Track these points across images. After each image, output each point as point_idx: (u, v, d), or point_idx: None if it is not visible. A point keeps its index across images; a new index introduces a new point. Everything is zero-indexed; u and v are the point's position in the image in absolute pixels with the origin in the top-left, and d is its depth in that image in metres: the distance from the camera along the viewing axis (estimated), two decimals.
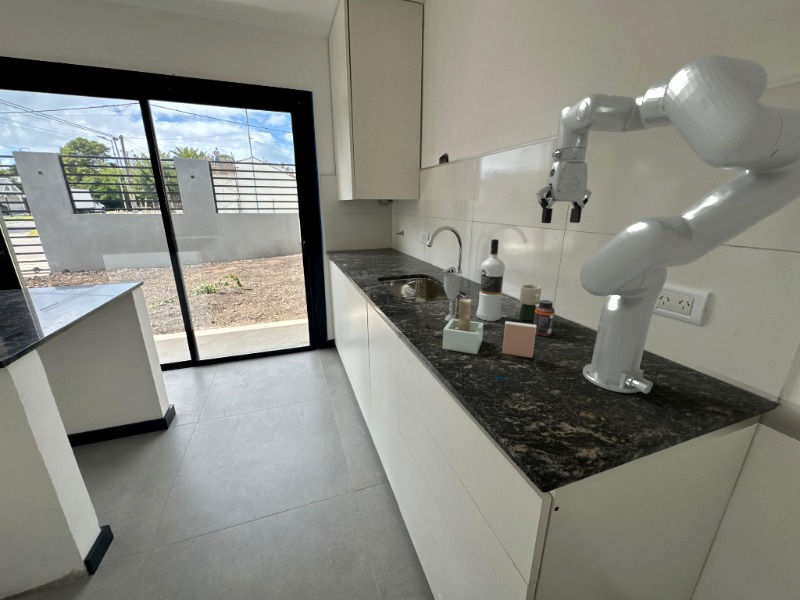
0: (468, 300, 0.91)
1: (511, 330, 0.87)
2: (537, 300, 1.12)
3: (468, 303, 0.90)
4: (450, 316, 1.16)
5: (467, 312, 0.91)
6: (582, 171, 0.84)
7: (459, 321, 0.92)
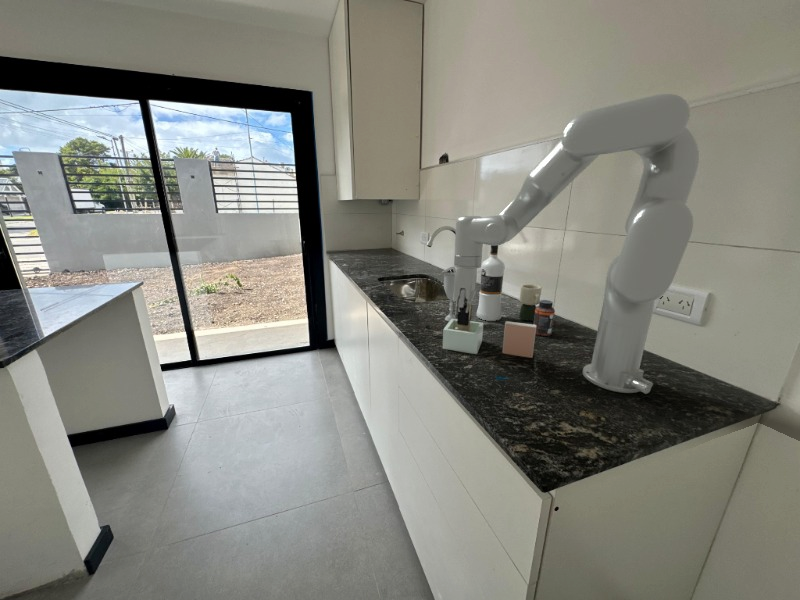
0: None
1: (511, 330, 0.87)
2: (537, 300, 1.12)
3: None
4: (450, 316, 1.16)
5: None
6: None
7: None
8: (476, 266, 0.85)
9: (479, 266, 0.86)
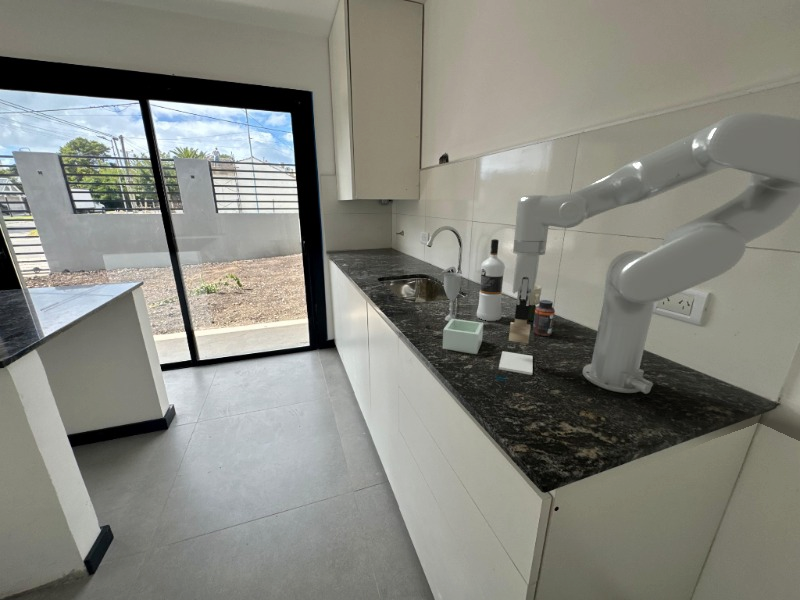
0: (527, 291, 0.81)
1: None
2: (537, 300, 1.12)
3: None
4: (450, 316, 1.16)
5: None
6: None
7: None
8: (541, 252, 0.75)
9: (544, 252, 0.76)
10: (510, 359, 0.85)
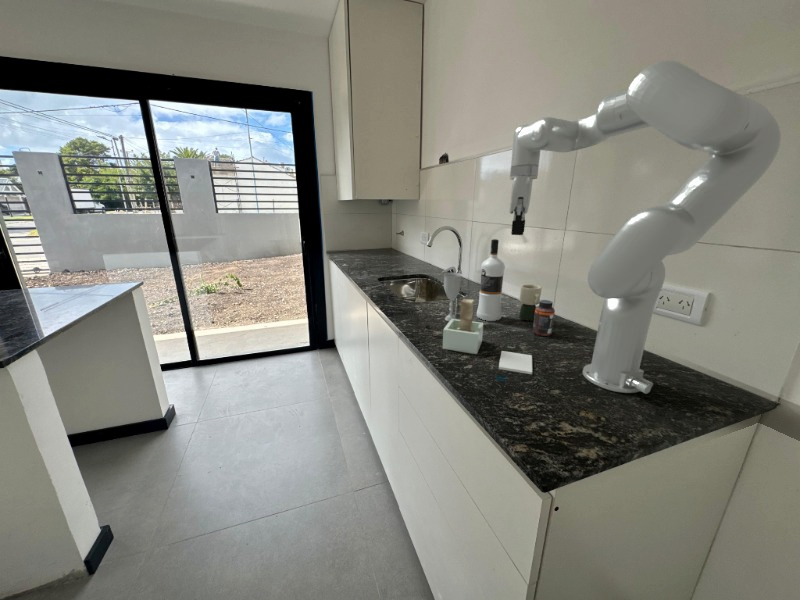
0: (470, 300, 0.91)
1: None
2: (537, 300, 1.12)
3: (470, 303, 0.90)
4: (450, 316, 1.16)
5: (469, 312, 0.90)
6: (512, 186, 0.91)
7: (461, 321, 0.92)
8: (533, 175, 0.88)
9: (536, 176, 0.89)
10: (510, 359, 0.85)
